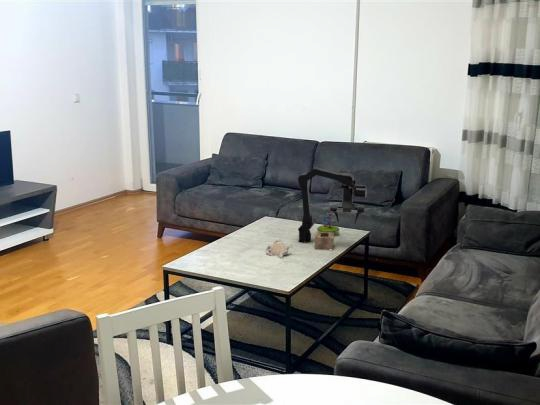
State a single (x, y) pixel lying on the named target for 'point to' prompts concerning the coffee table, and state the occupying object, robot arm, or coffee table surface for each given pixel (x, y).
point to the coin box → (324, 240)
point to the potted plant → (328, 227)
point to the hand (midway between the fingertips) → (346, 223)
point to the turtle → (278, 249)
